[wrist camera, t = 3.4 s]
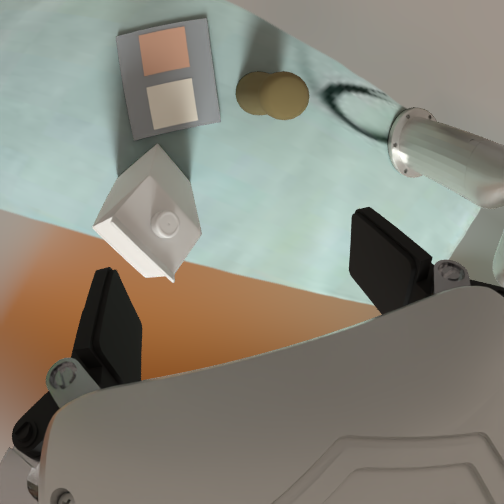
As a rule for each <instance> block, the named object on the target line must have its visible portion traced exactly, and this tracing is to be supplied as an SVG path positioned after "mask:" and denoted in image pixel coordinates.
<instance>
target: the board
mask: <svg viewBox="0 0 504 504" xmlns="http://www.w3.org/2000/svg"><path fill="white" fill-rule="evenodd" d="M116 42H117V49H118V56H119V63H120V70H121V76H122V82H123V88H124V94H125V99H126V105H127V110H128V115H129V120H130V125H131V130H132V134H133V139H134V141H135V140H139V139H143V138H147V137H151V136H155V135H159V134H163V133H168V132H172V131H177V130H181V129H186V128H191V127H196V126H201V125H206V124H212V123H217V122H221V120H220V113H219V106H218V99H217V91H216V84H215V77H214V70H213V62H212V55H211V48H210V40H209V33H208V25H207V18H204V19H196V20H190V21H183V22H177V23H172V24H166V25H161V26H156V27H152V28H147V29H143V30H139V31H135V32H131V33H127V34H124V35H120V36H116Z"/></svg>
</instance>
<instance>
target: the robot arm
mask: <svg viewBox="0 0 504 504" xmlns="http://www.w3.org/2000/svg"><path fill="white" fill-rule="evenodd" d="M388 150H389V156H390V160H391V162H392V164H393V166H394V167H395V169H396V170H397V171H398V172H399V173H401V174H403V175H404V176H407V177H411V178H415V177H419V176H422V175H424V176H426V177H428V178H429V179H431V180H433V181H435V182H437V183H439V184H441V185H443V186H444V187H446V188H448V189H450V190H452V191H453V192H455V193H457V194H459V195H460V196H462V197H464V198H466V199H467V200H469V201H471V202H473V203H474V204H476V205H478V206H480V207H482V208H487V209H494V208H498V207H502V206H504V145H501V144H498V143H496V142H493V141H491V140H488V139H486V138H483V137H480V136H478V135H475V134H472V133H470V132H467V131H464V130H461V129H458V128H455V127H452V126H449V125H446V124H443V123H439V122H437V121H436V119H435V118H434V116H433V115H432V114H431V113H430V112H428V111H427V110H425V109H421V108H414V107H413V108H409V109H407V110H405V111H403V112H402V113H401V114H400V115H399V116H398V117H397V118H396V120H395V121H394V123H393V125H392V128H391V130H390V134H389V141H388ZM431 261H432V256H430V255H429V254H428V253H427V252H426V251H425V250H423V249H422V248H421V247H420V246H419V245H417V244H416V243H415V242H414V241H413V240H411V239H410V238H409V237H408V236H407V235H405V234H404V233H403V232H402V231H400V230H399V229H398V228H397V227H395V226H394V225H393V224H391V223H390V222H389V221H388V220H386V219H385V218H384V217H382V216H381V215H380V214H378V213H377V212H376V211H375V210H373V209H372V208H370V207H366V208H361V209H357V210H356V211H355V214H353V215H352V224H351V245H350V260H349V272H350V275H351V276H352V278H353V279H354V280H355V281H356V283H357V284H358V285H359V286H360V288H361V289H362V290H363V291H364V293H365V294H366V295H367V296H368V298H369V299H370V300H371V301H372V303H373V304H374V305H375V306H376V308H377V309H378V310H379V311H380V313H381V314H382V315H381V316H378V317H375V318H372V319H370V320H367V321H364V322H361V323H358V324H356V325H353V326H350V327H347V328H344V329H341V330H338V331H335V332H332V333H329V334H326V335H323V336H320V337H317V338H314V339H310V340H307V341H304V342H301V343H298V344H294V345H291V346H288V347H284V348H280V349H277V350H273V351H270V352H266V353H263V354H259V355H255V356H252V357H247V358H244V359H240V360H236V361H232V362H228V363H224V364H220V365H215V366H211V367H207V368H203V369H198V370H193V371H188V372H184V373H179V374H174V375H169V376H164V377H159V378H153V379H148V380H143V381H141V347H142V324H141V321H140V319H139V317H138V315H137V313H136V311H135V309H134V307H133V305H132V303H131V301H130V299H129V296H128V295H127V292H126V290H125V288H124V286H123V283H122V281H121V279H120V277H119V274H118V272H117V271H116V270H112V269H111V268H110V267H108V268H104V269H100V270H97V271H96V272H95V275H94V278H93V281H92V284H91V287H90V290H89V294H88V297H87V300H86V304H85V308H84V310H83V312H82V315H81V319H80V323H79V327H78V330H77V334H76V339H75V343H74V347H73V351H72V356H71V358H64V359H61V360H59V361H58V362H56V363H55V364H54V365H53V366H52V367H51V368H50V370H49V371H48V373H47V376H46V385H47V388H48V390H49V391H48V392H47V393H46V394H45V395H44V396H43V397H42V398H41V399H40V400H39V401H38V402H37V403H36V404H35V405H34V406H33V407H31V409H29V410H28V411H27V412H26V413H25V415H23V416H22V417H21V418H20V420H19V421H18V422H17V423H16V424H15V426H14V428H13V433H12V440H13V444H14V447H13V449H12V448H10V447H9V448H8V450H7V452H6V453H5V455H4V457H3V459H2V461H1V463H0V504H504V230H503V233H502V236H501V239H500V242H499V245H498V248H497V250H496V253H495V256H494V260H493V273H494V276H495V278H496V280H497V281H498V283H499V284H500V285H501V286H502V287H499V286H495V285H491V284H486V283H483V282H478V281H474V280H470V279H469V275H468V272H467V270H466V269H465V267H463V266H462V265H461V264H459V263H457V262H455V261H451V260H440V261H438V262H437V263H436V264H435V265H433V264H432V263H431Z"/></svg>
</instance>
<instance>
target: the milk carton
mask: <svg viewBox="0 0 504 504" xmlns="http://www.w3.org/2000/svg"><path fill="white" fill-rule="evenodd" d="M92 228H93V229H94V230H95V231H96V232H97V233H98V234H99V235H100V236H101V237H102V238H103V239H104V240H105V241H106V242H107V243H108V244H110V246H111V247H112V248H114V249H115V250H116V251H117V252H118V253H119V254H120V255H121V256H122V257H123V258H124V259H125V260H126V261H127V262H129V263H130V264H131V265H132V266H133V267H134V268H135V269H136V270H138V271H139V272H140V273H141V274H142V275H143V276H144V277H146V278H148V277H159V276H166V277H167V278H168V279H169V280H170V281H171V282H175V278H174V274H175V273H176V271H177V270H178V268H179V267H180V265H181V264H182V262H183V261H184V259H185V258H186V257H187V255H188V254H189V252H190V251H191V249H192V248H193V246H194V245H195V244H196V242H197V241H198V239H199V238H200V236H201V235H202V232H201V227H200V223H199V218H198V214H197V210H196V205H195V201H194V196H193V192H192V187H191V183H190V181H189V180H188V179H187V177H186V176H185V175H184V174H183V173H182V171H181V170H180V169H179V168H178V167H177V165H176V164H175V163H174V162H173V161H172V159H171V158H170V157H169V156H168V155H167V153H166V152H165V151H164V150H163V149H162V148H161V146H160V145H159V144H156V145H155V146H154V147H153V148H151V149H150V150H149V151H148V152H147V153H145V154H144V155H143V156H142V157H141V158H139V159H138V160H137V161H136V162H135V163H134V164H133V165H131V166H130V167H129V168H128V169H127V170H126V171H125V172H124V173H122V174H121V175H120V176H119V177H118V178H117V180H116V181H115V183H114V185H113V187H112V189H111V191H110V193H109V194H108V196H107V198H106V200H105V202H104V204H103V206H102V208H101V210H100V212H99V214H98V216H97V218H96V220H95V223H94V225H93V227H92Z"/></svg>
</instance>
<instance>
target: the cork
mask: <svg viewBox="0 0 504 504" xmlns="http://www.w3.org/2000/svg"><path fill="white" fill-rule="evenodd" d="M236 99H237V102H238V104H239V105H240V107H241V108H242V109H243V110H244V111H246V112H248V113H250V114H252V115H266V114H268V115H269V116H271V117H273V118H275V119H280V120H288V119H293V118H295V117H297V116H299V115H300V114H301V113H302V112H303V111H304V110H305V109H306V107H307V105H308V102H309V91H308V88H307V86H306V84H305V82H304V81H303V80H302V79H301V78H300V77H299V76H297V75H295V74H293V73H290V72H285V71H283V72H276V73H273V74H269V73H265V72H259V71H257V72H251V73H249V74H247V75H245V76H244V77H243V78H242V79H241V80H240V81H239V83H238V85H237V87H236Z"/></svg>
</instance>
